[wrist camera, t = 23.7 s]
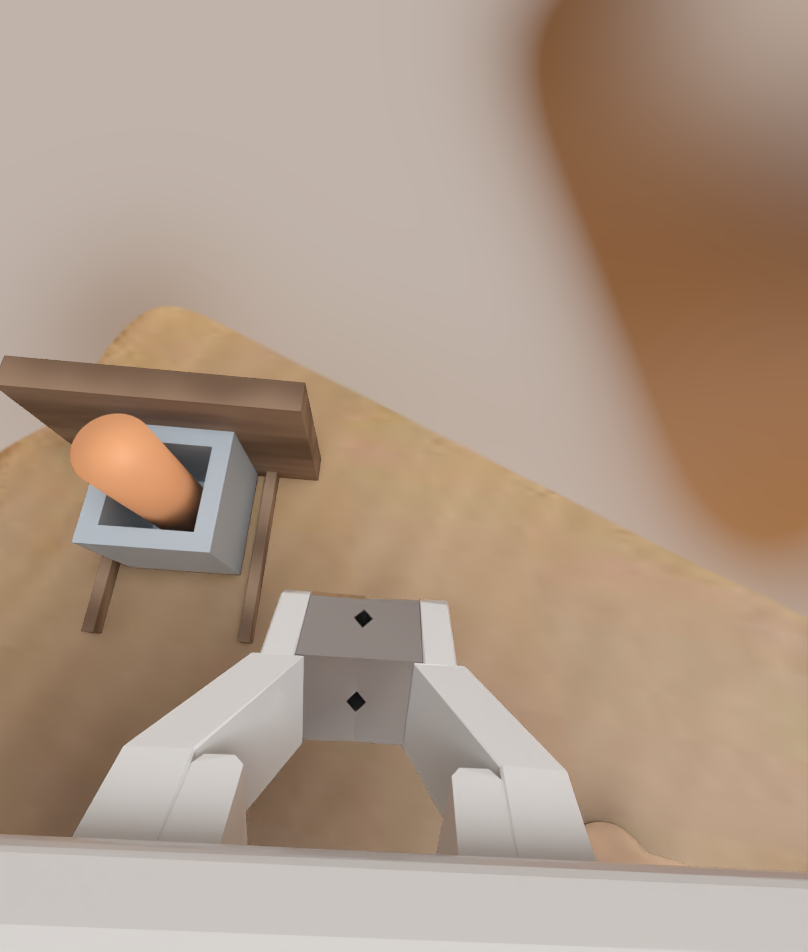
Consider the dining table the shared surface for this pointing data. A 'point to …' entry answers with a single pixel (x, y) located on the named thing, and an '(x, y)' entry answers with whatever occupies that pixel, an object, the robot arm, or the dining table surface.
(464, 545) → the dining table surface
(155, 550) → the socket block
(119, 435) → the dowel
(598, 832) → the beer glass
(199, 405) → the backstop wall
